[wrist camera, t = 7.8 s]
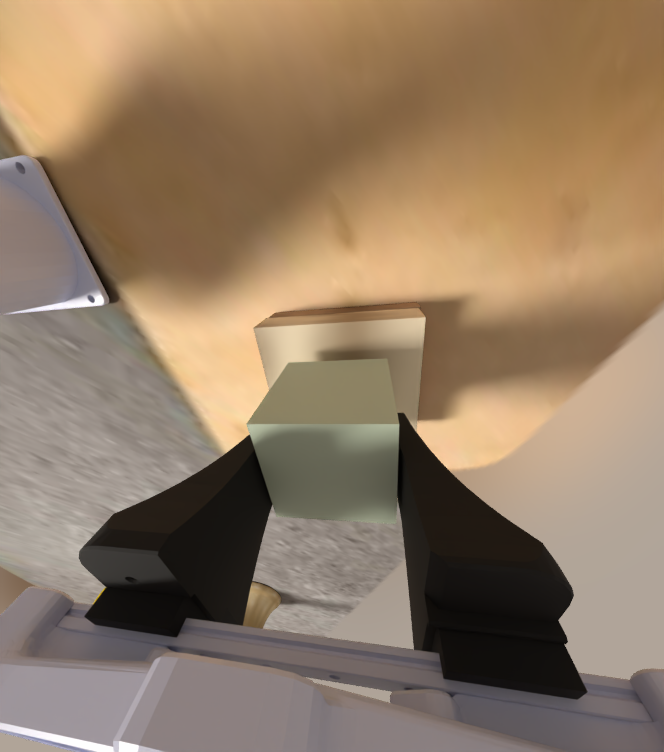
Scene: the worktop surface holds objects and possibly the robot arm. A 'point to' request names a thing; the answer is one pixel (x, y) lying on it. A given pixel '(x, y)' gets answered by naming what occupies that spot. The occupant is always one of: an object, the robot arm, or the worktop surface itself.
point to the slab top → (350, 346)
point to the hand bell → (260, 605)
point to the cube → (330, 441)
